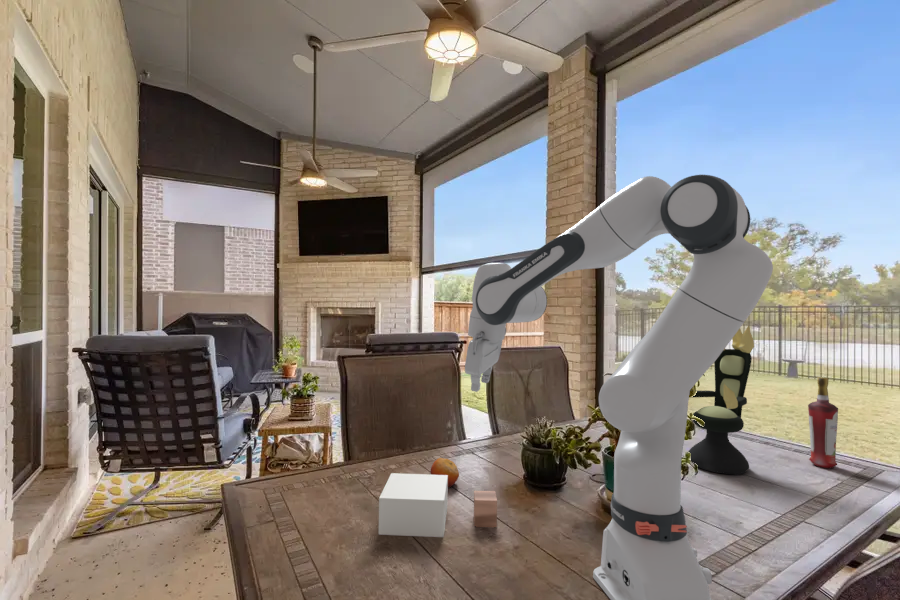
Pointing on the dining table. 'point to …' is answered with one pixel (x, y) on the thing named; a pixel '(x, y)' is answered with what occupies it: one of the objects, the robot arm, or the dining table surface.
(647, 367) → the robot arm
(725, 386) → the crowned throne chair
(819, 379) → the liquor
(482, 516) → the terracotta block
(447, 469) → the fruit
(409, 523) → the cream box
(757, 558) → the dining table surface
